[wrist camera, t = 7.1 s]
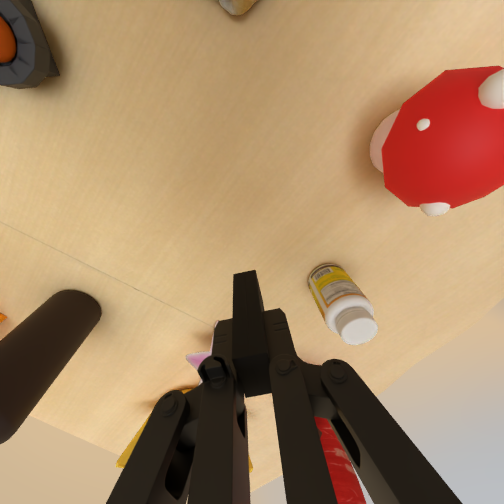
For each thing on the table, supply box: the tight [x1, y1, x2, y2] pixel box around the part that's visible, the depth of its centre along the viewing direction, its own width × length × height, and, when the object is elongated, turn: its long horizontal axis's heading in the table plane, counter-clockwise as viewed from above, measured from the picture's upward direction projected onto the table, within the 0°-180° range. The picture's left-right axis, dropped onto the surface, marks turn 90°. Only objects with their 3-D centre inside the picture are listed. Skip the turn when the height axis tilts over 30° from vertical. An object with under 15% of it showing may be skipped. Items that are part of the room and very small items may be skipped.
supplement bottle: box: [308, 264, 378, 345], centre depth 29 cm, size 6×6×10 cm
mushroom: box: [370, 66, 504, 216], centre depth 20 cm, size 11×11×12 cm
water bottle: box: [314, 416, 366, 504], centre depth 31 cm, size 12×8×25 cm, turn 31°
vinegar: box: [0, 290, 101, 444], centre depth 24 cm, size 7×7×20 cm
